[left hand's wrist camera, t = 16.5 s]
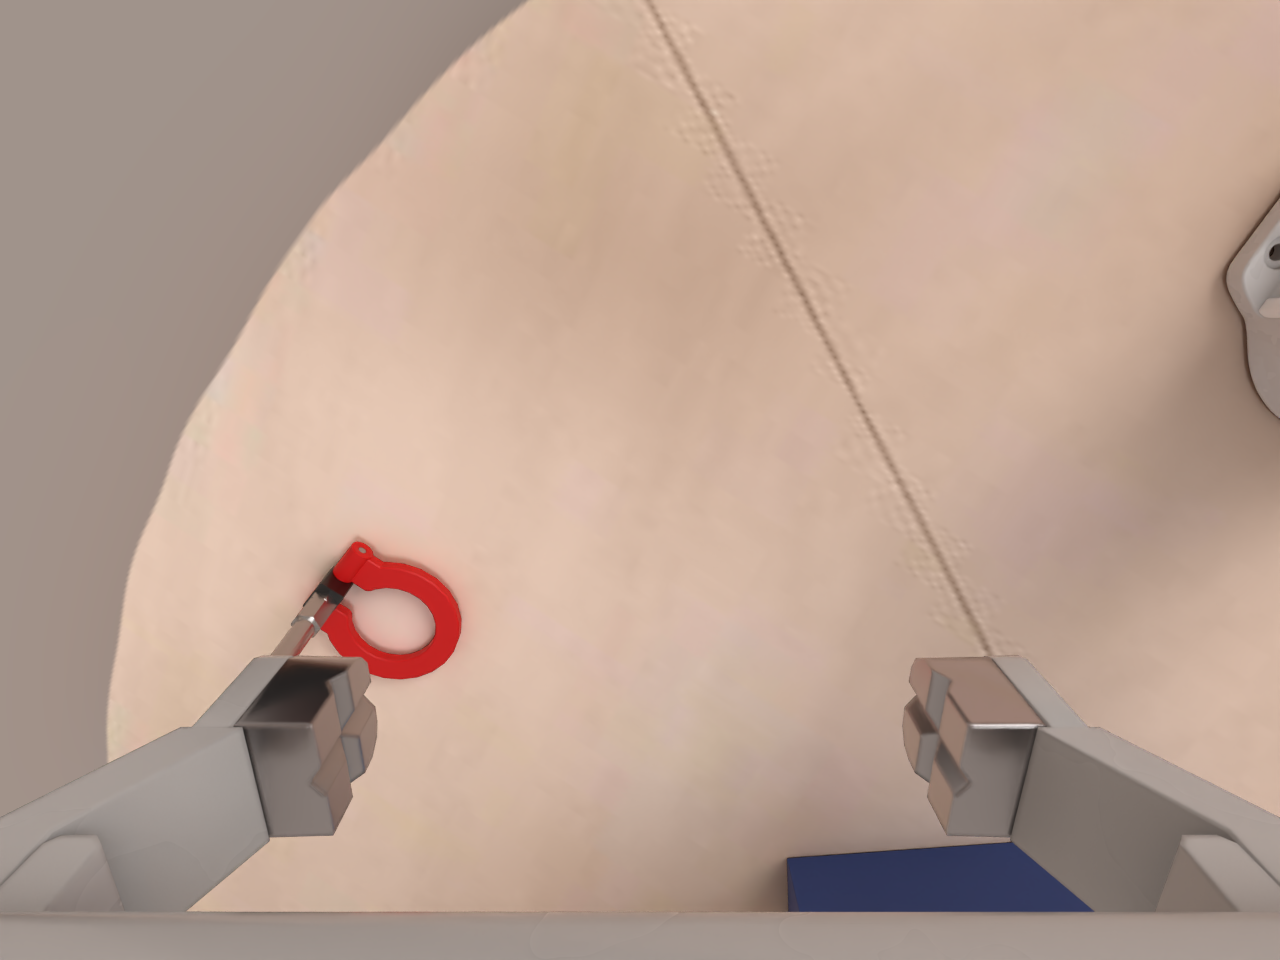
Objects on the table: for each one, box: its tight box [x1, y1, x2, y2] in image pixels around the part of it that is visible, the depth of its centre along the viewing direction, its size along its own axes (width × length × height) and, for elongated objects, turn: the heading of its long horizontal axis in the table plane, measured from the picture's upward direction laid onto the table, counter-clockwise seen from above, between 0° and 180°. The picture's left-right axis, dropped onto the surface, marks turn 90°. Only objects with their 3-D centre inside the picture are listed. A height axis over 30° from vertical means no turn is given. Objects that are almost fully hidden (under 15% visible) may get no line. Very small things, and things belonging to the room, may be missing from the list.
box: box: [787, 842, 1095, 912], centre depth 48 cm, size 28×6×11 cm, turn 95°
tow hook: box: [270, 542, 461, 679], centre depth 39 cm, size 8×13×9 cm
